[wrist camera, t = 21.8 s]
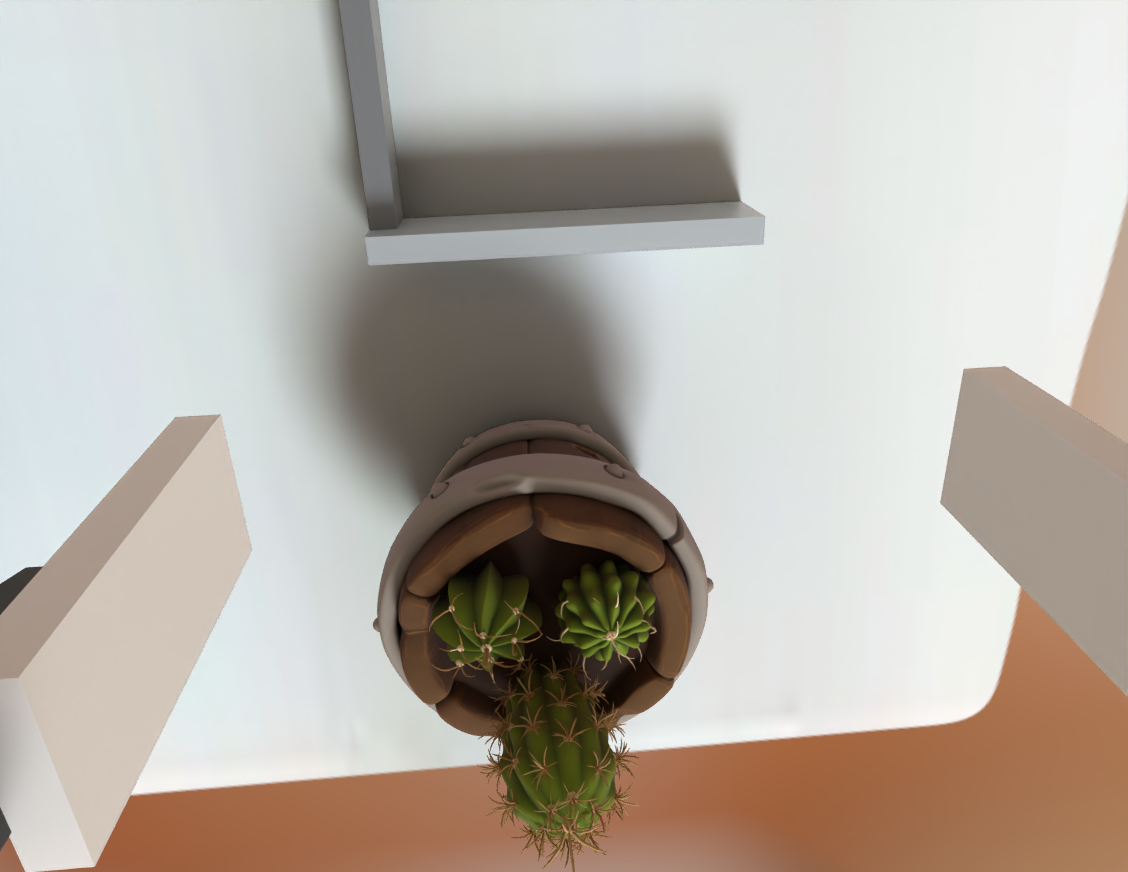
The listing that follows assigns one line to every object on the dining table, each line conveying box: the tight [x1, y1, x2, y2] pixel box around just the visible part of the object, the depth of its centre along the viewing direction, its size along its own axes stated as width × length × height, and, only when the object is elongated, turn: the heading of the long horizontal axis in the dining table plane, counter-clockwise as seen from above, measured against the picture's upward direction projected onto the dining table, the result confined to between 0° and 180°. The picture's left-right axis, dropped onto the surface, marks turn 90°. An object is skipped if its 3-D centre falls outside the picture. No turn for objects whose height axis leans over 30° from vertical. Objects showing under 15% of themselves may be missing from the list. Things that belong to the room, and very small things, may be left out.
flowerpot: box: [373, 420, 713, 872], centre depth 37 cm, size 14×15×20 cm
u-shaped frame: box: [338, 0, 765, 266], centre depth 34 cm, size 17×17×4 cm
